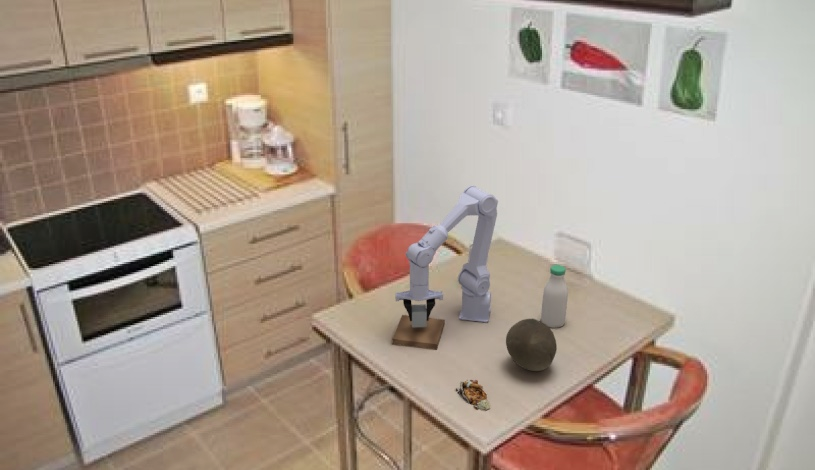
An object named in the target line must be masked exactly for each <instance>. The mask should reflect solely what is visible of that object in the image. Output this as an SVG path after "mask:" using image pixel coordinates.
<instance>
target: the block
mask: <svg viewBox="0 0 815 470" xmlns="http://www.w3.org/2000/svg"><path fill="white" fill-rule="evenodd" d="M412 327H427V310H426V303H425V304H423V303H422V304H412Z"/></svg>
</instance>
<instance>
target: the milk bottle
mask: <svg viewBox="0 0 815 470" xmlns="http://www.w3.org/2000/svg"><path fill="white" fill-rule="evenodd" d="M566 270H567V269H566V267H565V266H563V265H562V264H554V265H551V267H550V271H549V274H550V277H549V279H548V280H547V282H546V283H545V285H544V288H543V294H542V303H541V312H540V321H541V322H542V323H544V324H545V325H547V326H548V327H549V328H550V329H551V328H552V329H556V328H561V327H563V326H564V325H565V324H566V323H565V322H566V318H567V317H566V315H567V308H568V307H567V306H568V296H569V292H568V291H569V289H568V286H567V283H566V280H565V276H566Z"/></svg>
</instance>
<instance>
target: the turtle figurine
mask: <svg viewBox="0 0 815 470" xmlns="http://www.w3.org/2000/svg"><path fill="white" fill-rule="evenodd" d="M459 384H460V385H459V387H460V389H459V390H458V388H454V392H456V393H457V395H460V394H461V395H462V397H463V398H464V399H465V400H467V402H468V405H471V406H473V408H474V409H475V410H479V411H481V412H486V411H487V410H490V409H491V407H492V406H491V404H490V401H488V396H487V395H488V394H487V393H486V392H485V390H484V386H483V385H481V384H479V381H478V379H475V380H473V379H470V380H468V381H467V380H466V381H460V382H459Z"/></svg>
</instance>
